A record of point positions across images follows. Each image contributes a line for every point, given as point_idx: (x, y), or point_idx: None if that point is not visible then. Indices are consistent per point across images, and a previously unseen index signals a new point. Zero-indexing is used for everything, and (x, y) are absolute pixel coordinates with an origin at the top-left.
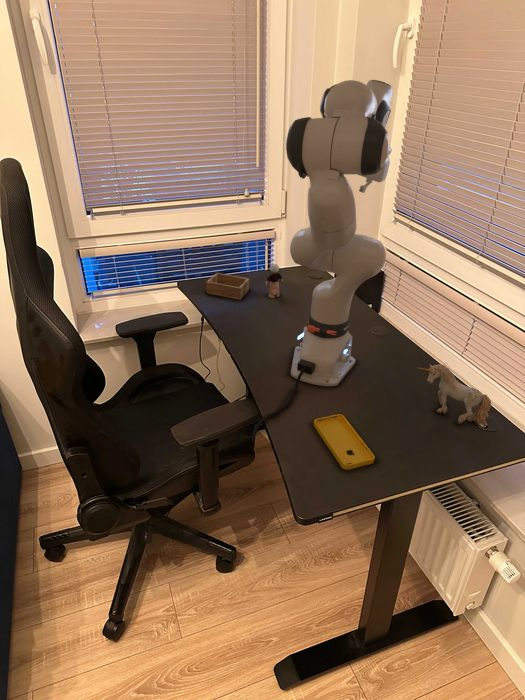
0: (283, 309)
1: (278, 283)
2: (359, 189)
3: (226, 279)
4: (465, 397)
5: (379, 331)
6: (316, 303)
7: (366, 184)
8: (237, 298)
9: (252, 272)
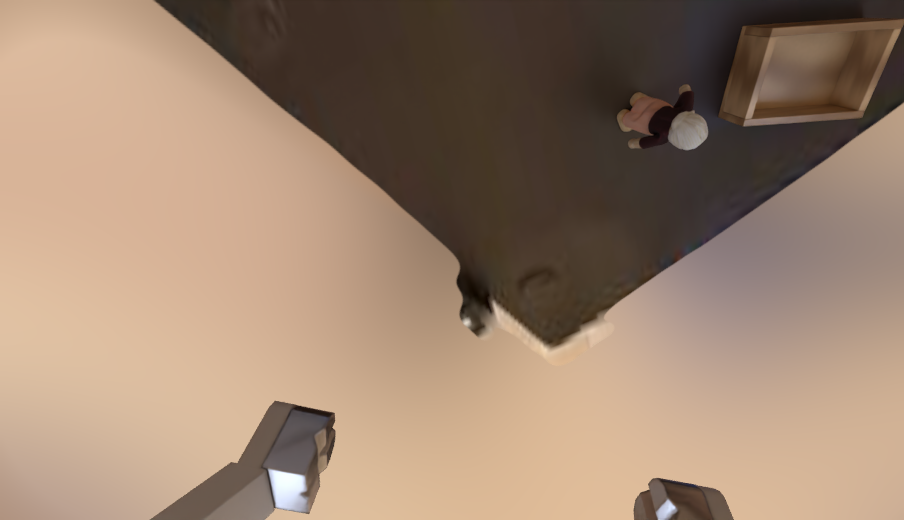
0: (587, 26)
1: (641, 128)
2: (323, 427)
3: (813, 109)
4: None
5: (252, 20)
6: None
7: (193, 507)
8: (753, 25)
9: (718, 231)
